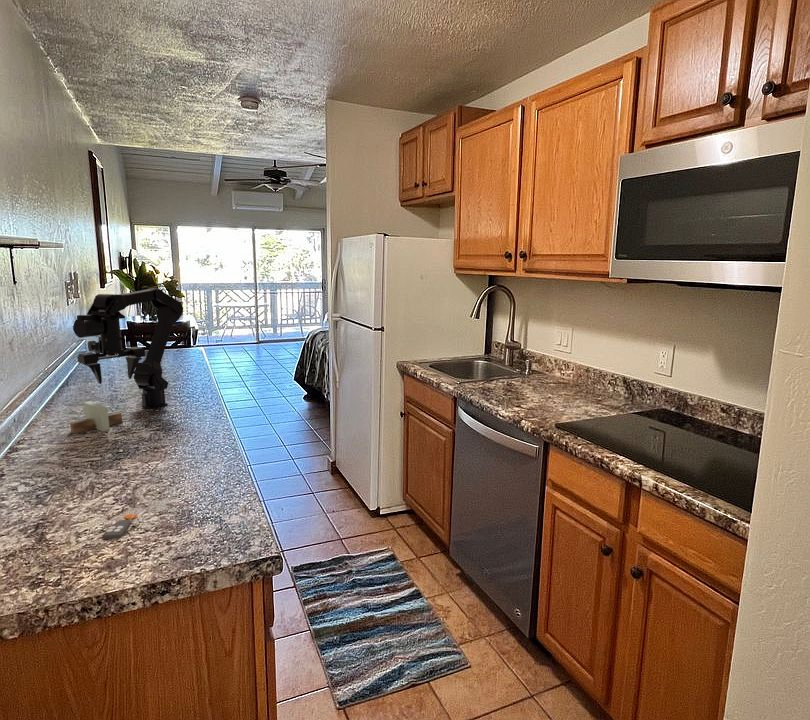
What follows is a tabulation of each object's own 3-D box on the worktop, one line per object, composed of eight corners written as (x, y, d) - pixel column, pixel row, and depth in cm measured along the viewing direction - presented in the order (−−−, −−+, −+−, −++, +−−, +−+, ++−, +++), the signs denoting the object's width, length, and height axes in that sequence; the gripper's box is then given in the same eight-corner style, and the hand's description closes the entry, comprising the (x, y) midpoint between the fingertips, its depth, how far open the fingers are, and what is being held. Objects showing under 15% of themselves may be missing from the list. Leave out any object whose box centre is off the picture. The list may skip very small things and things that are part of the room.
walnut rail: (119, 421, 167) (118, 412, 166) (122, 422, 165) (121, 413, 165) (71, 432, 156) (69, 422, 155) (73, 433, 155) (72, 423, 154)
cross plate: (85, 423, 164) (83, 402, 162) (92, 422, 165) (90, 401, 164) (102, 431, 156) (100, 409, 155) (109, 429, 158) (107, 407, 157)
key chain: (122, 540, 97) (121, 533, 96) (101, 541, 96) (100, 534, 96) (149, 508, 109) (149, 501, 109) (131, 508, 109) (130, 502, 109)
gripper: (128, 328, 178) (132, 373, 181) (67, 334, 164) (73, 382, 167) (144, 331, 171) (148, 377, 174) (82, 337, 157) (88, 388, 160)
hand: (115, 381), depth 169 cm, fingers open, 9 cm apart
